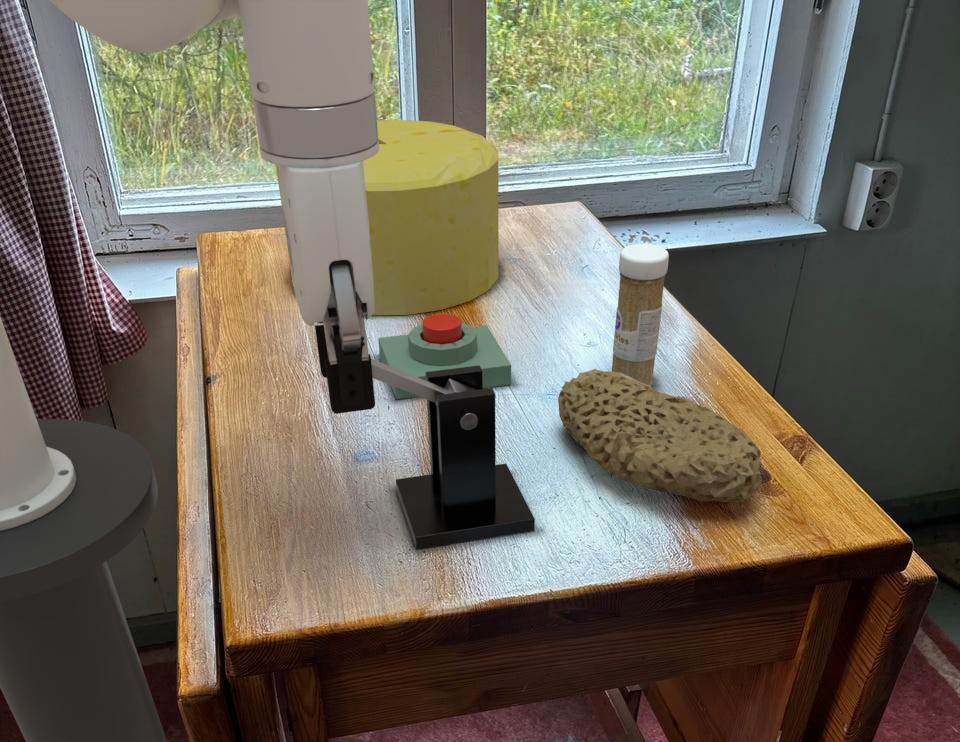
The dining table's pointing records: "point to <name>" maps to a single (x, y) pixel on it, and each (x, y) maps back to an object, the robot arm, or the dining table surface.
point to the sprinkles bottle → (639, 310)
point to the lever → (413, 382)
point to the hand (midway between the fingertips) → (347, 389)
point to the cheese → (430, 216)
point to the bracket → (462, 471)
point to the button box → (446, 356)
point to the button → (442, 329)
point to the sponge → (659, 438)
